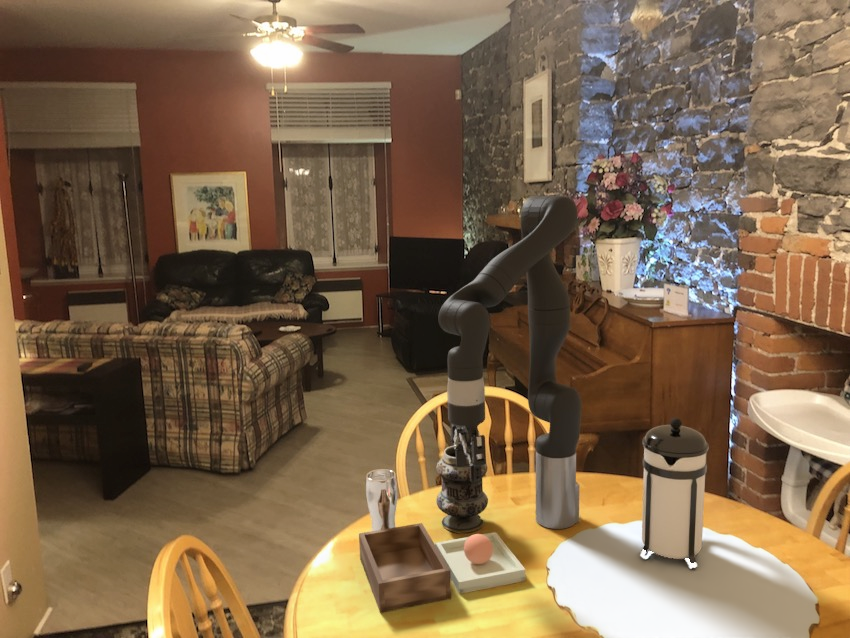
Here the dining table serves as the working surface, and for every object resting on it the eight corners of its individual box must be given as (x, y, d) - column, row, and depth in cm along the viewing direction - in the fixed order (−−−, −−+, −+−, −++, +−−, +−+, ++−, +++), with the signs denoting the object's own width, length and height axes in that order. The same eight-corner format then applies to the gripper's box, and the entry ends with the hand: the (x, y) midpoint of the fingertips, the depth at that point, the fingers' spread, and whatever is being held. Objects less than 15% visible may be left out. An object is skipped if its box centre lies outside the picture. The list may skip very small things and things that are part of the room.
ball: (487, 552, 148) (486, 526, 147) (497, 566, 142) (496, 540, 141) (460, 557, 147) (459, 531, 145) (469, 572, 141) (469, 545, 140)
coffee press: (728, 564, 143) (736, 425, 137) (659, 577, 139) (664, 434, 133) (678, 525, 159) (683, 399, 153) (615, 536, 155) (618, 407, 150)
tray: (495, 542, 154) (495, 532, 154) (525, 580, 139) (525, 569, 139) (435, 553, 150) (435, 542, 150) (459, 593, 135) (458, 582, 135)
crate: (422, 548, 153) (422, 523, 152) (451, 598, 134) (450, 570, 133) (360, 559, 149) (358, 533, 148) (380, 612, 130) (378, 583, 129)
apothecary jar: (497, 529, 160) (496, 455, 157) (449, 540, 156) (447, 464, 152) (474, 507, 171) (473, 438, 168) (429, 517, 167) (426, 446, 163)
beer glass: (395, 545, 154) (392, 482, 152) (364, 543, 156) (361, 480, 153) (402, 530, 161) (399, 469, 158) (373, 528, 163) (370, 467, 160)
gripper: (497, 406, 134) (498, 484, 137) (471, 386, 147) (473, 458, 150) (460, 411, 132) (463, 491, 135) (437, 391, 145) (440, 463, 148)
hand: (468, 473), depth 143 cm, fingers open, 8 cm apart
